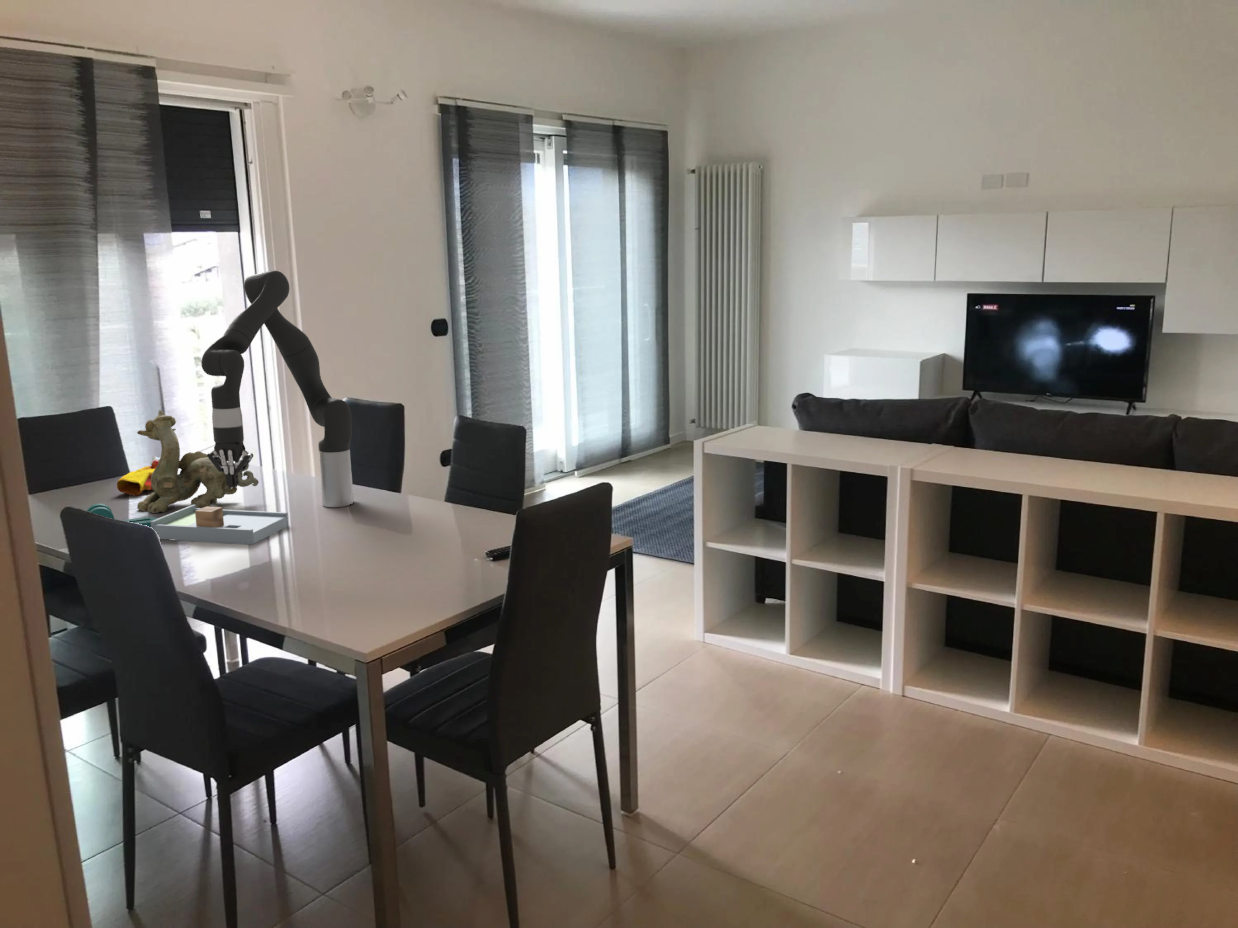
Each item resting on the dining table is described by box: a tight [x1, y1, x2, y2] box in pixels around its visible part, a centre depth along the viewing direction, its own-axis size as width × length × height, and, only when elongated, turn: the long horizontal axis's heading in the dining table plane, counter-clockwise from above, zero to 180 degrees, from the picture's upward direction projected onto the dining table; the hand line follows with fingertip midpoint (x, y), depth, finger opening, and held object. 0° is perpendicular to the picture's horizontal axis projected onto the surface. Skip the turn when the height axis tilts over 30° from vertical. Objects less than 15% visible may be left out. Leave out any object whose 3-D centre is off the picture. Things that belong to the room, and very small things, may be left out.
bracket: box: [86, 503, 159, 527], centre depth 280 cm, size 18×7×8 cm, turn 121°
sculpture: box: [136, 409, 260, 514], centre depth 307 cm, size 29×27×30 cm
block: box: [195, 506, 224, 527], centre depth 272 cm, size 5×5×5 cm
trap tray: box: [151, 504, 289, 546], centre depth 277 cm, size 19×30×5 cm, turn 79°
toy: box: [116, 456, 161, 497], centre depth 334 cm, size 9×13×30 cm
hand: (232, 487), depth 269 cm, fingers closed
